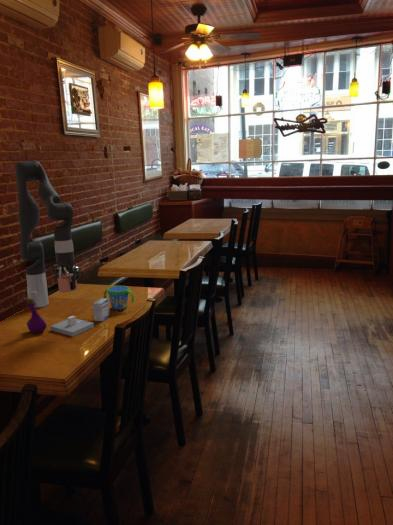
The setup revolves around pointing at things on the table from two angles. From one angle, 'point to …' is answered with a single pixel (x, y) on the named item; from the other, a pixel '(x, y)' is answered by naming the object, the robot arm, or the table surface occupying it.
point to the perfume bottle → (35, 318)
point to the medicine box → (101, 309)
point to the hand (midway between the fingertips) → (68, 288)
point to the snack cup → (119, 296)
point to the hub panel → (72, 326)
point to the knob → (65, 284)
